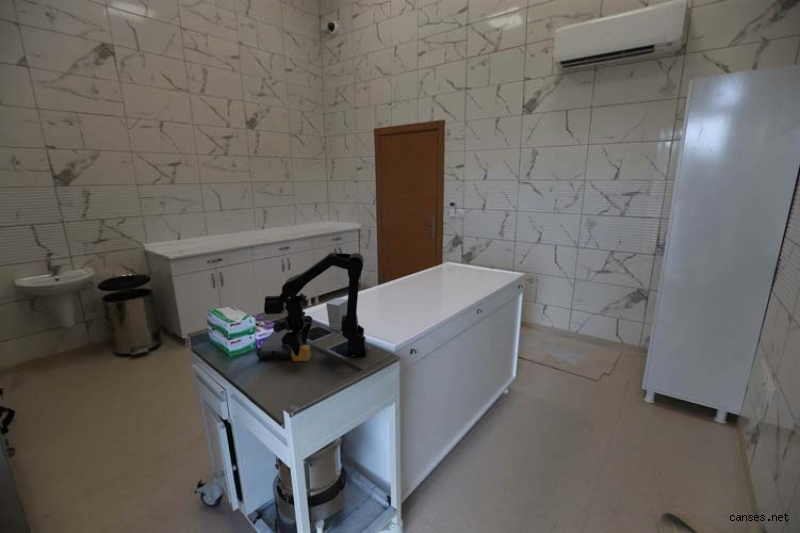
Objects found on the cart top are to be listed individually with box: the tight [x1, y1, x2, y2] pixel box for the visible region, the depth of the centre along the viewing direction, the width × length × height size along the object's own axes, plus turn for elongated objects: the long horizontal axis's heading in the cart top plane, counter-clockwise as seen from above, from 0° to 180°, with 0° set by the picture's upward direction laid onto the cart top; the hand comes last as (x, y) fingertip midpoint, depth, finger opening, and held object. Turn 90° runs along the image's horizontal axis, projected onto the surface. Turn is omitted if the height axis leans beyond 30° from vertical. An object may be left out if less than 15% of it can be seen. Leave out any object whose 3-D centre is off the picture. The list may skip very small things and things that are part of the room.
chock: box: [291, 344, 312, 362], centre depth 141 cm, size 6×4×4 cm, turn 87°
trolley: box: [256, 329, 293, 362], centre depth 146 cm, size 13×15×6 cm
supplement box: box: [326, 297, 348, 332], centre depth 164 cm, size 7×7×13 cm
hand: (300, 349), depth 140 cm, fingers open, 9 cm apart
